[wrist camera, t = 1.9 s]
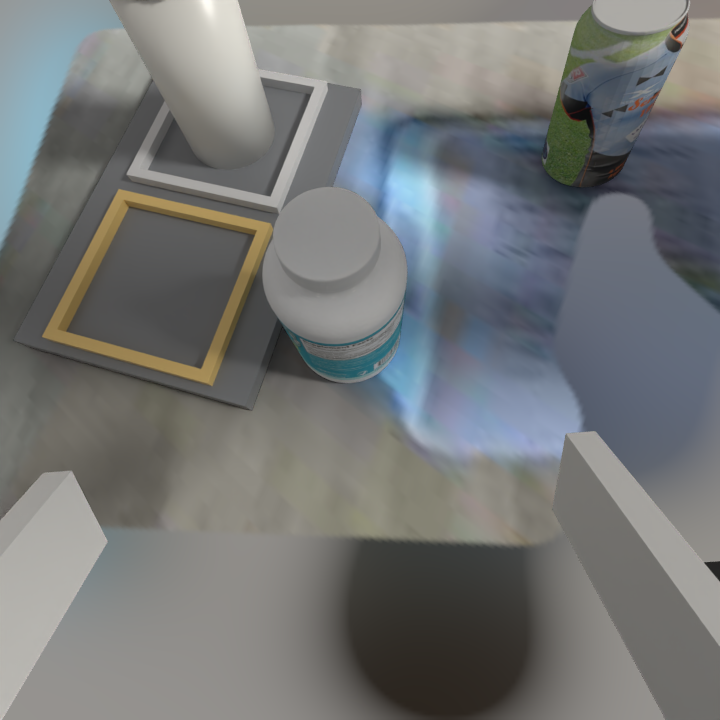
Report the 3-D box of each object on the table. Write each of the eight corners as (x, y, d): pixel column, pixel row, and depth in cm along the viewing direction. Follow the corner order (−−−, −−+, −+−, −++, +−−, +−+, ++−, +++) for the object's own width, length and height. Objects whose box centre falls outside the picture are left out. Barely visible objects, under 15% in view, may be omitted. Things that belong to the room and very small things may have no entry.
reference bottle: (287, 108, 36) (232, -119, 23) (258, 178, 34) (178, -25, 21) (208, 93, 37) (109, -134, 23) (175, 161, 35) (47, -45, 21)
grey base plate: (361, 104, 38) (360, 80, 35) (252, 410, 30) (241, 404, 28) (174, 70, 40) (162, 45, 38) (29, 347, 32) (3, 336, 30)
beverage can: (601, 209, 33) (716, 62, 22) (511, 177, 35) (575, 22, 23) (625, 148, 35) (744, -18, 24) (537, 120, 36) (610, -52, 25)
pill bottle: (305, 287, 33) (255, 154, 20) (402, 293, 32) (417, 161, 19) (292, 383, 31) (227, 304, 18) (396, 391, 30) (408, 315, 17)
